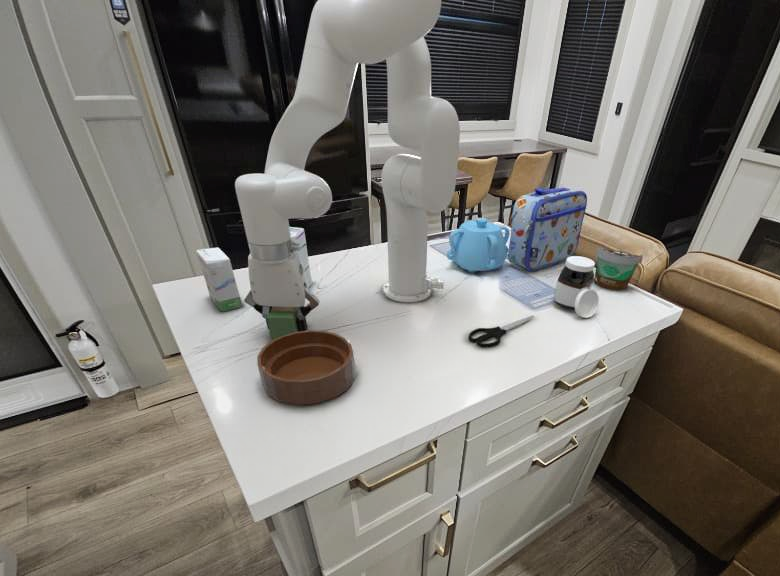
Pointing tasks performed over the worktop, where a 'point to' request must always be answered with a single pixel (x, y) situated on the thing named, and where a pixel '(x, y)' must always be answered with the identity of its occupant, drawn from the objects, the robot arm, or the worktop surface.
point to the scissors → (494, 333)
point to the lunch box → (546, 227)
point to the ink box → (219, 278)
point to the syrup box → (302, 250)
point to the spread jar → (577, 287)
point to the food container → (615, 268)
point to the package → (281, 321)
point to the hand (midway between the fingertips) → (288, 331)
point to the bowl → (306, 366)
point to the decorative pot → (478, 245)
